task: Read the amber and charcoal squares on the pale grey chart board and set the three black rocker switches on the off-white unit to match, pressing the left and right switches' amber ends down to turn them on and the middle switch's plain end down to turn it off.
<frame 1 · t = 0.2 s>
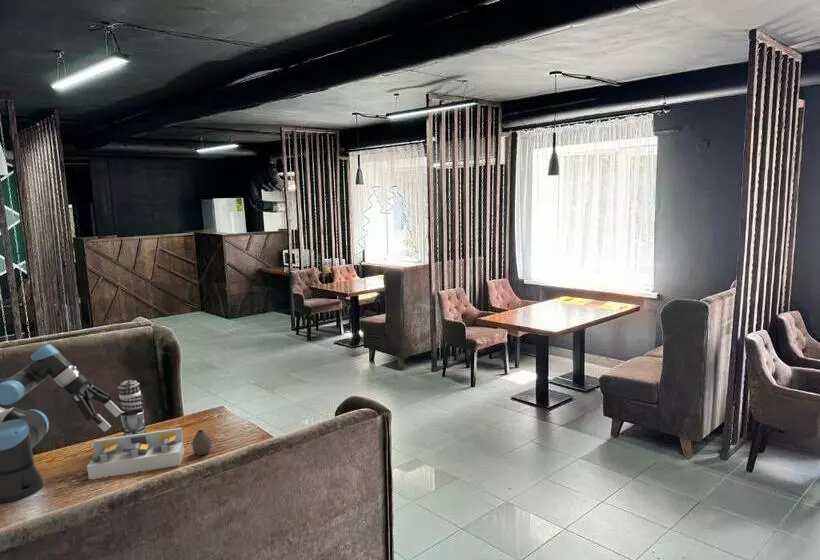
hand: (113, 421, 208), 15 cm above the table, tool tilted 35°, fingers open, 13 cm apart
switch unit: (138, 466, 204), on the table
switch middle: (136, 448, 203), point 7 cm above the table, hinge at 15.0°
switch right: (165, 443, 206), point 7 cm above the table, hinge at -15.0°
vase: (202, 453, 213), on the table
switch left: (105, 452, 201), point 7 cm above the table, hinge at -15.0°
wine glass: (136, 449, 220), on the table
decorative candle: (135, 441, 228), on the table
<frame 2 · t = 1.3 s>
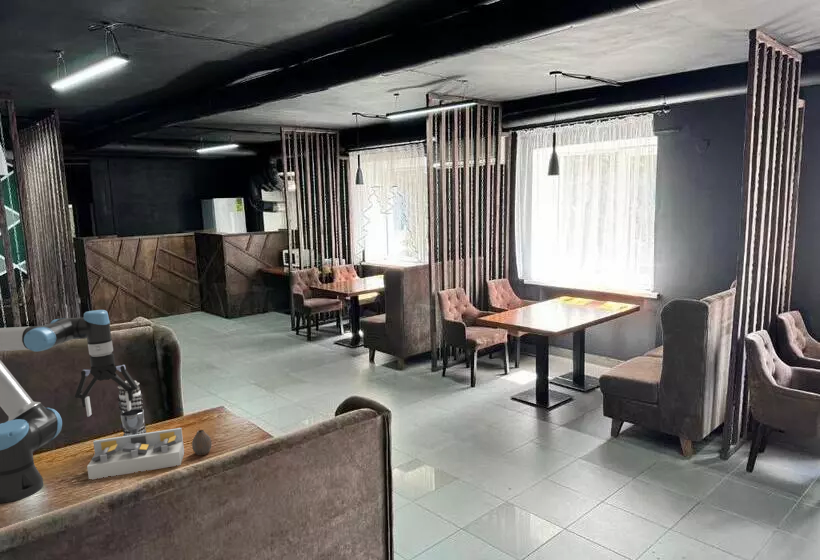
hand: (109, 412, 200), 22 cm above the table, tool pointing down, fingers open, 12 cm apart
nothing on the table moved.
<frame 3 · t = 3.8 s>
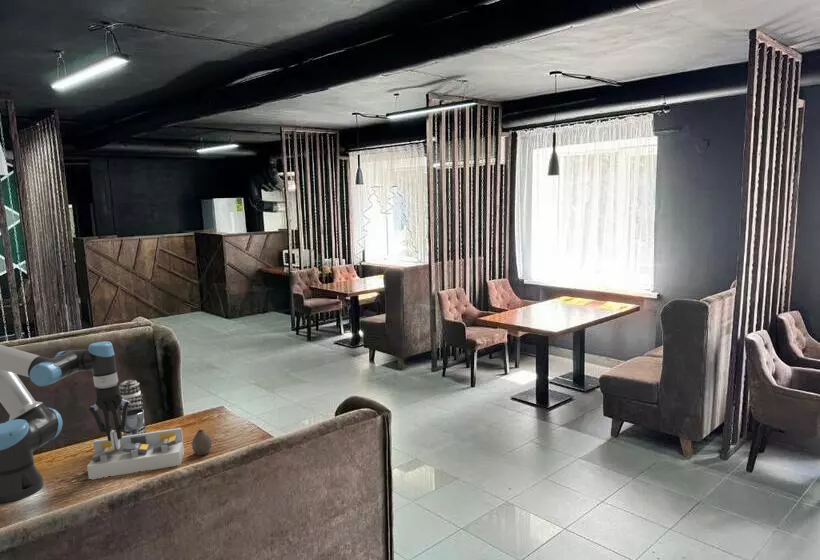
hand: (116, 448, 201), 8 cm above the table, tool pointing down, fingers closed, pressing on switch left
switch left: (105, 452, 201), point 7 cm above the table, hinge at -13.8°, touching gripper
everything else where it was.
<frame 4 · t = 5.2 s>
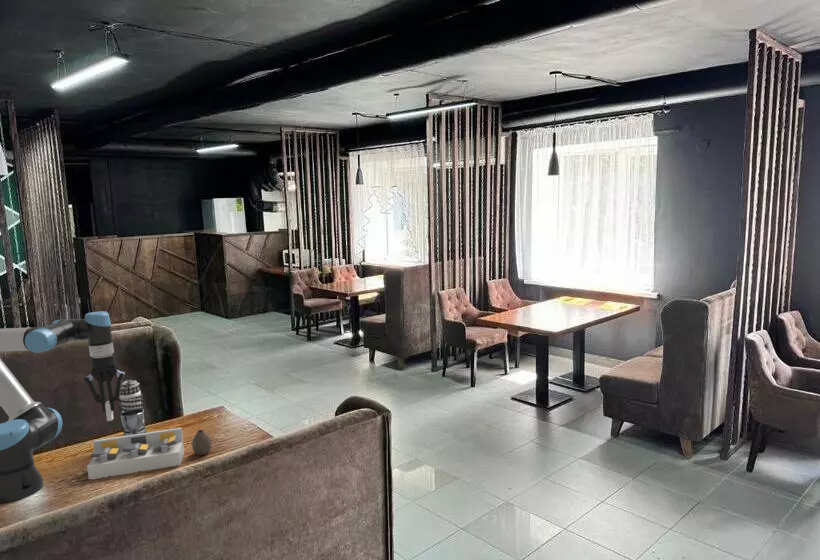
hand: (110, 419, 200), 19 cm above the table, tool pointing down, fingers closed
switch left: (105, 452, 201), point 7 cm above the table, hinge at 10.7°
everything else where it was.
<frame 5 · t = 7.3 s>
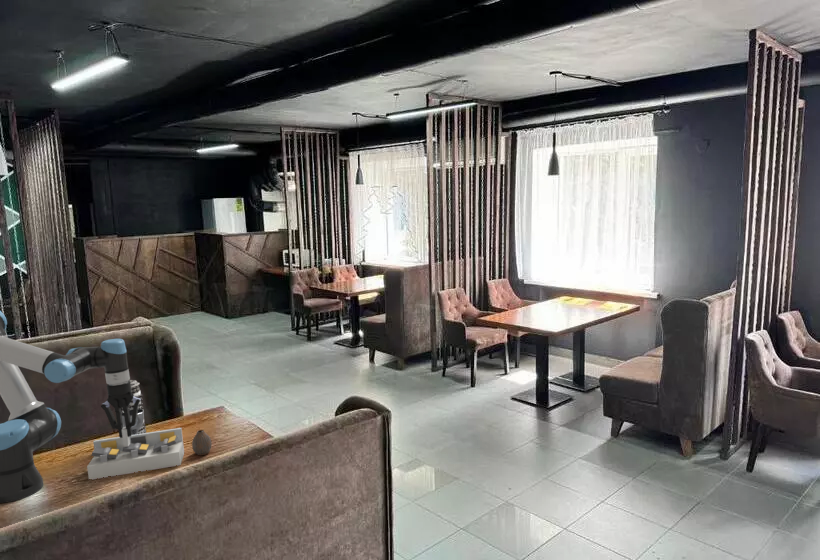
hand: (127, 445, 202), 9 cm above the table, tool pointing down, fingers closed
switch middle: (136, 448, 203), point 7 cm above the table, hinge at 15.0°, touching gripper
switch left: (105, 452, 201), point 7 cm above the table, hinge at 17.8°
everything else where it was.
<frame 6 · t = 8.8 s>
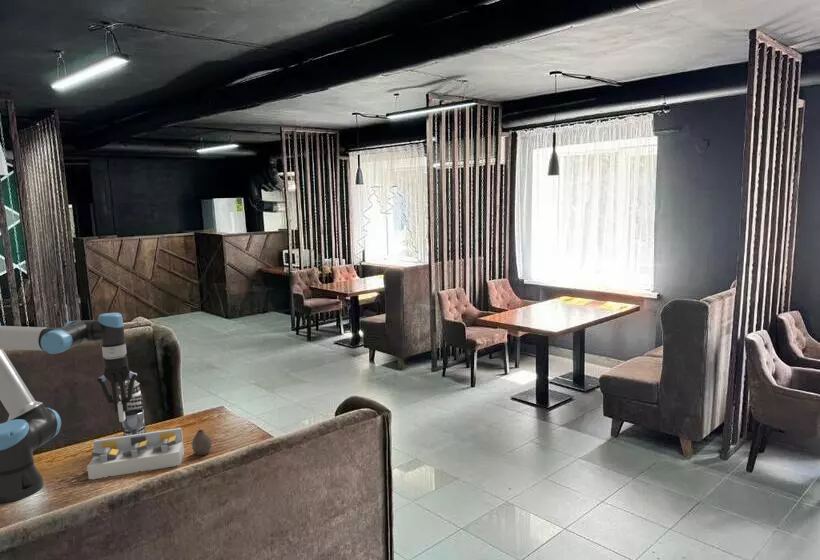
hand: (122, 420, 201), 18 cm above the table, tool pointing down, fingers closed
switch middle: (136, 448, 203), point 7 cm above the table, hinge at -12.7°
switch left: (105, 452, 201), point 7 cm above the table, hinge at 18.7°
everything else where it was.
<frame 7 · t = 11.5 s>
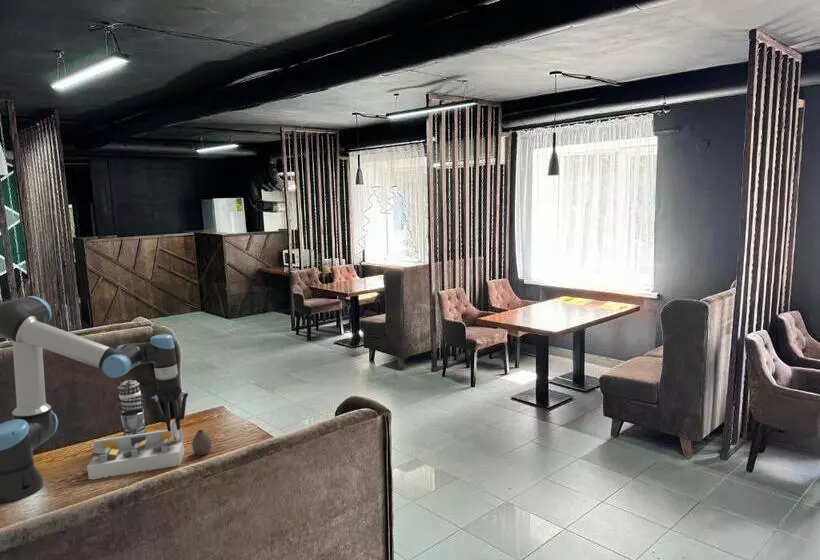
hand: (175, 438, 206), 8 cm above the table, tool pointing down, fingers closed
switch middle: (136, 448, 203), point 7 cm above the table, hinge at -18.5°
switch right: (165, 443, 206), point 7 cm above the table, hinge at -14.5°, touching gripper
everything else where it was.
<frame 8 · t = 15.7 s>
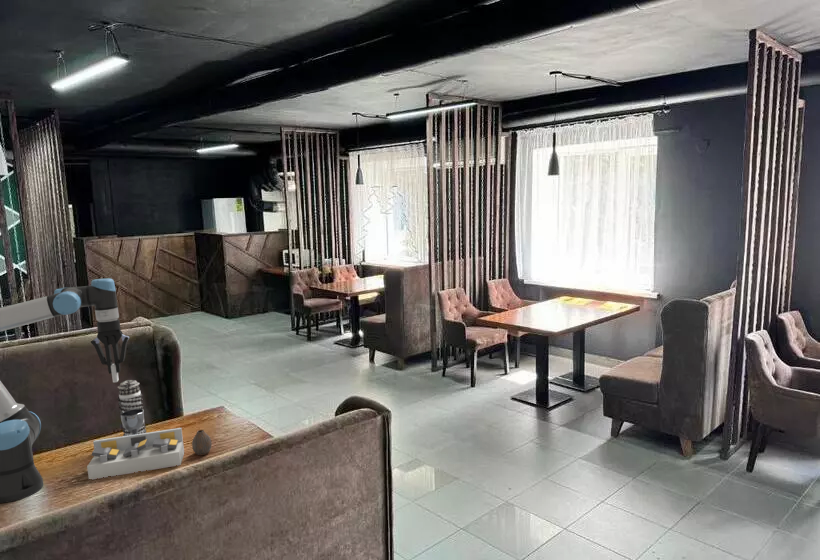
hand: (115, 381, 211), 29 cm above the table, tool pointing down, fingers closed
switch middle: (136, 448, 203), point 7 cm above the table, hinge at -19.1°
switch right: (165, 443, 206), point 7 cm above the table, hinge at 13.6°
everything else where it was.
at the end: switch left at +19° (first picture: -15°); switch middle at -19° (first picture: +15°); switch right at +14° (first picture: -15°) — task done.
